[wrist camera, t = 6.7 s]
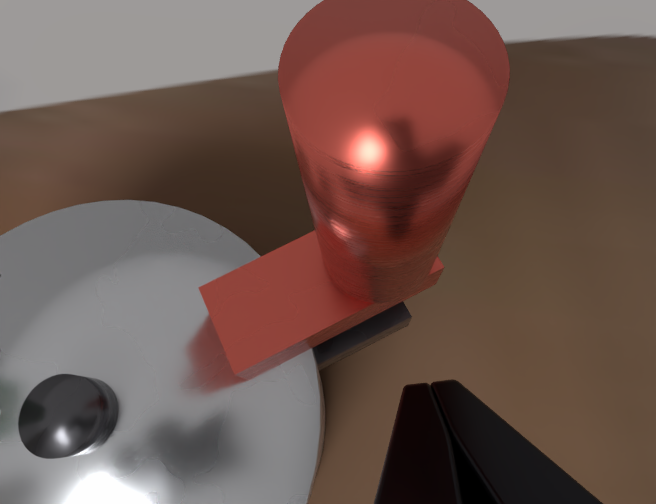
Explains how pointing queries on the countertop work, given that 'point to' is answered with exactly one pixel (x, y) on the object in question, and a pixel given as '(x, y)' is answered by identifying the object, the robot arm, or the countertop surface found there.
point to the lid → (243, 277)
